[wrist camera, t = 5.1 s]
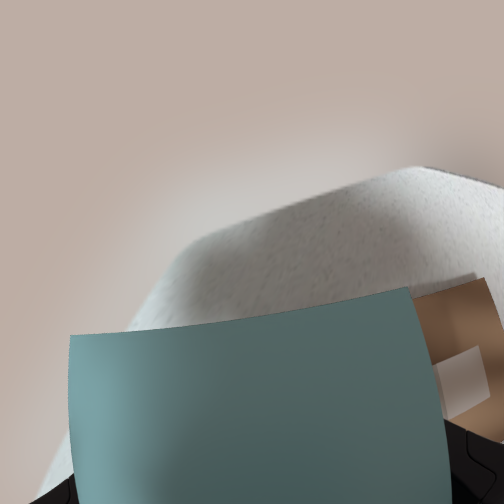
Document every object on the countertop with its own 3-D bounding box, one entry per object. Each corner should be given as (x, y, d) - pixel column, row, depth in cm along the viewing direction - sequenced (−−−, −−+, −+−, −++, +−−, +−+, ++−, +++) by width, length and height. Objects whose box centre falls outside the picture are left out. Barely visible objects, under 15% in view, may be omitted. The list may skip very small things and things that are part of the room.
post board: (513, 426, 11) (555, 418, 7) (355, 506, 11) (379, 531, 7) (476, 284, 18) (509, 252, 14) (323, 325, 18) (336, 295, 14)
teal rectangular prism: (336, 478, 10) (448, 574, 1) (223, 494, 10) (114, 605, 1) (319, 378, 13) (407, 286, 4) (209, 394, 13) (70, 335, 4)
